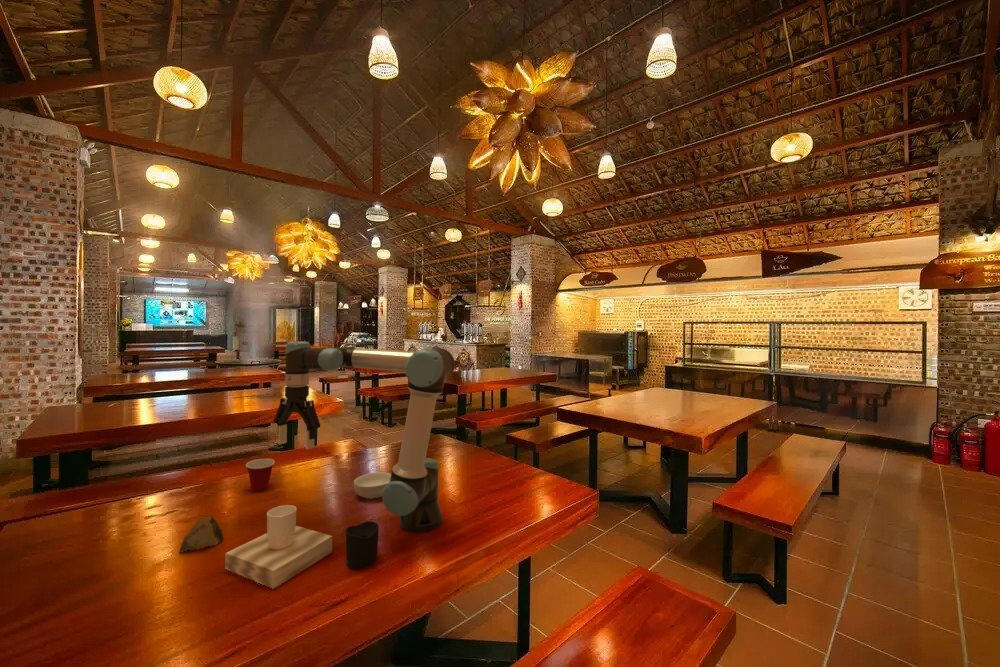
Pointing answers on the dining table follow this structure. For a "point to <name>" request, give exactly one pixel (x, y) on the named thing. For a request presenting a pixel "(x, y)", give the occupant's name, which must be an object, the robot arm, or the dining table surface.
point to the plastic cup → (260, 473)
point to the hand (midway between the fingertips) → (296, 445)
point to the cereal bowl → (371, 484)
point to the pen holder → (362, 545)
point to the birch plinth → (278, 557)
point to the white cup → (281, 526)
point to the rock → (202, 535)
